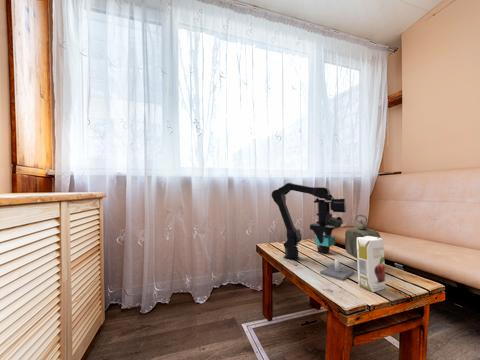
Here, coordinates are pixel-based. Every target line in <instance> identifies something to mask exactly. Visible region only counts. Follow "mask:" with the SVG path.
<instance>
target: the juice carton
mask: <svg viewBox="0 0 480 360" xmlns="http://www.w3.org/2000/svg"><path fill="white" fill-rule="evenodd" d="M384 245H385V244H384V238H377V237H372V236H365V237H357V258H356V260H357V261H356V262H357V264H356V265H357V284H358V287H360V288H363V289H366V291H367V290H368V291H370V292H372V293H376V292H378V291H382V290H384V289H385V288H386V271H385V270H386V267H385V246H384Z"/></svg>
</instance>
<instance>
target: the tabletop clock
mask: <svg viewBox="0 0 480 360" xmlns="http://www.w3.org/2000/svg"><path fill="white" fill-rule="evenodd" d="M359 217H363V218H365V221H363V220H360V221H359V220H358V219H357V218H359ZM355 220H356V222H358V224H356V226H355V227H354V228H348V229H346V231H345V233H344V234H345V235H344V242H345V244H344V245H345V251H346V253H347V254H348V255H349V256H351V257H354V258H356V259H357V237H365V236H372V237H377V238H381V234H380V233H379V232H378V231H377V230H373V229H371V228H368V226H367V225H366V224H367V222H368V218H367V217H366V216H365V215H363V214H357V215H356V216H355Z"/></svg>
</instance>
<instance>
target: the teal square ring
mask: <svg viewBox="0 0 480 360" xmlns="http://www.w3.org/2000/svg"><path fill="white" fill-rule="evenodd" d="M324 234H325V233H323V242H322V244H321V243H320V242H319V240H318V238H317V236H316V235H314V245H316V246H317V245H322V246H327V247H329V246H330V247H332V246H334V245H336V236H335V235H331V236H330V235H324Z"/></svg>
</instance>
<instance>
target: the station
mask: <svg viewBox="0 0 480 360" xmlns="http://www.w3.org/2000/svg"><path fill="white" fill-rule="evenodd" d="M341 264H342V263H341V261H340V259H338V258H335V259H334V264H332V265H329V266H328V267H326V268H324V269H323V270H320V274H321V275H323V276H327V277H330V278H333V279H336V280H340V281H345V280H346V279H348V278H349V277H351V276H352V275H353V274H355V270H353V269H349V268H346V267H343V266H342V265H341Z"/></svg>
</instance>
